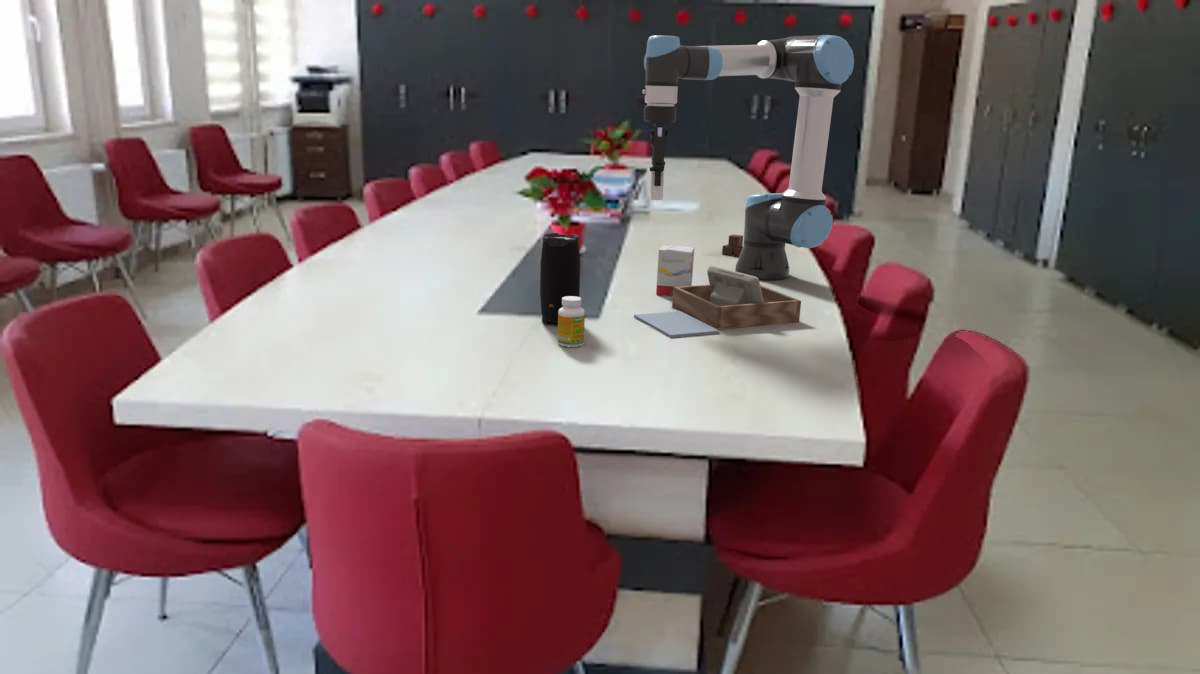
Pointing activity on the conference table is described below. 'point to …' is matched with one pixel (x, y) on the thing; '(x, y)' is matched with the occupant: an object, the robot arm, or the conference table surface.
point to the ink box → (674, 268)
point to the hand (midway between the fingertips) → (656, 196)
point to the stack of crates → (733, 246)
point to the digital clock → (733, 287)
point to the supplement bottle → (571, 322)
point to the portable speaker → (558, 273)
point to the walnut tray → (736, 308)
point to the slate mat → (676, 324)
